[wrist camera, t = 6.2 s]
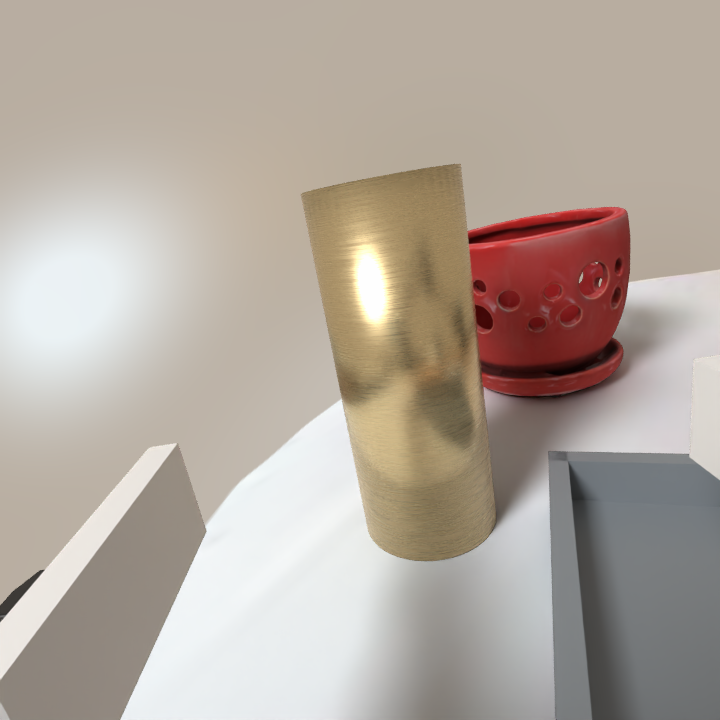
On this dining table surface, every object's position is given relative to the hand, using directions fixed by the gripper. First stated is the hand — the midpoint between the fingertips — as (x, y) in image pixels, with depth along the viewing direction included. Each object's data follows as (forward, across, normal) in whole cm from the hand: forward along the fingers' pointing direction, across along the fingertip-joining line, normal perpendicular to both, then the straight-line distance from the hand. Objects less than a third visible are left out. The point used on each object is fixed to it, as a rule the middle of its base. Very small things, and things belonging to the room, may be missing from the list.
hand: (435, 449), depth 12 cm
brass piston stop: (+10, 0, -9) cm, 13 cm away
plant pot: (+25, +11, -9) cm, 29 cm away
